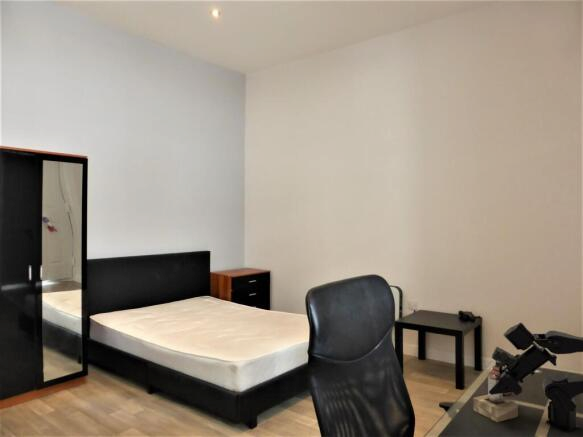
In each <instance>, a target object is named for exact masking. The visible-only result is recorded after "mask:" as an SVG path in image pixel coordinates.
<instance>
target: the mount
mask: <svg viewBox="0 0 583 437" xmlns="http://www.w3.org/2000/svg"><path fill="white" fill-rule="evenodd" d="M472 400H473V411H475V412H476V413H477V414H481V415H482V416H484V417H486V418H489V419H490V420H492V421H494V422H496V423H499V422H504V421H506V420H511V419H515V418H517V417H518V416H519V414H518V413H519V412H518V411H519V410H518V408H519V406H518V403H517V402H514V401H512V400H509V399H507V398H504V397H503V396H502V404H499V405H495V404H493V403H491V402H489V401H488V394H485V395H484V394H483V395H480V396H476V397H475V396H474V397H473V399H472Z"/></svg>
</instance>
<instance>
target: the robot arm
mask: <svg viewBox="0 0 583 437" xmlns="http://www.w3.org/2000/svg"><path fill="white" fill-rule="evenodd" d="M503 337H504V338H505V339H506V340H508V342H509V343H510V344H511V345H512V346H513V347H514V348H515V349H516V350H517V351H523V353H521V354H520V353H519V354H518V353H517V354H515V355H513V354H511V353H510V352H508V351H506V350H504V349H502V348H501V347H499V346H496V347H495V349H494V351H493V353H492V354H491V358H492V359H493V360H494V361H495V362H496V361H499V362H501V365H503V364H504V366H503V367H501V366H499V381H498V382H497V383H496V384H495V385H494V386H493V387H492V389H491V390H490V391H489V393H490V394H491V395H494V394H501V393H508V392H511V393H513V394H514V395H516V396H519V395H520V394H521V393H522V392H523V385H522V383H524V382H525V379H526V378H527V377H529V376H530V375H531V376H534V375H535V372H536V371H537V370H538V369H540V368H541V367H542V366H544V365H545V364H547V363H548V362H550V364H551V365H553V366H554V367H556V366H557V355H571V354H575V353H583V336H577V335H572V334H571V333H567V332H563V331H558V330H548V331H546V332H545V333H532V332H531V331H530V330H529V329H528V328H527V327H526V326H525V325H524V323H523V322H519V323H518V324H515V325H513V326H511V327H509V328H507V330H506V331H505V332H504V333H503ZM541 384H542V389H543V391H544V395H545V397H546V398H547V399H548V400H550V401H548V405H547V420H545V423H546V425H547V424H548V425H549V426H553V427H555V428H556V429H559V430H561V431H563V432H567V433H568V432H571V431H574V430H577V429H580V428H581V426H580V425H578V424H577V404H576V402H575V399H574V398H576V397H577V396H579V395H581V394H583V375H581V376H577V377H571V376H567V375H566V373H565V371H562V372H558V373H549V376H547V377H545V378H543V381H542V383H541Z"/></svg>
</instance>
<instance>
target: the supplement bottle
mask: <svg viewBox="0 0 583 437" xmlns="http://www.w3.org/2000/svg"><path fill="white" fill-rule="evenodd" d="M499 366H501V367H503V366H504V364H503V365H501V362H499V361H496V360H495V365H493V366H492V372H496V373H499ZM511 393H512V392H508V393H502V396H509V395H511Z"/></svg>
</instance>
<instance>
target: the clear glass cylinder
mask: <svg viewBox="0 0 583 437" xmlns="http://www.w3.org/2000/svg"><path fill="white" fill-rule="evenodd" d="M486 377H487V385H488V386H487V393H488V394H487V395H488V401H489V402H491V403H493V404H495V405H499V404H502V397H503V395H502V393H501V394H494V395H491V394H490V393H489V391H490V390H491V389H492V387H493V386H494V385H495V384H496V383H497V382H498V381H499V373H496V372H493V371H489V372H487V376H486Z"/></svg>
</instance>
